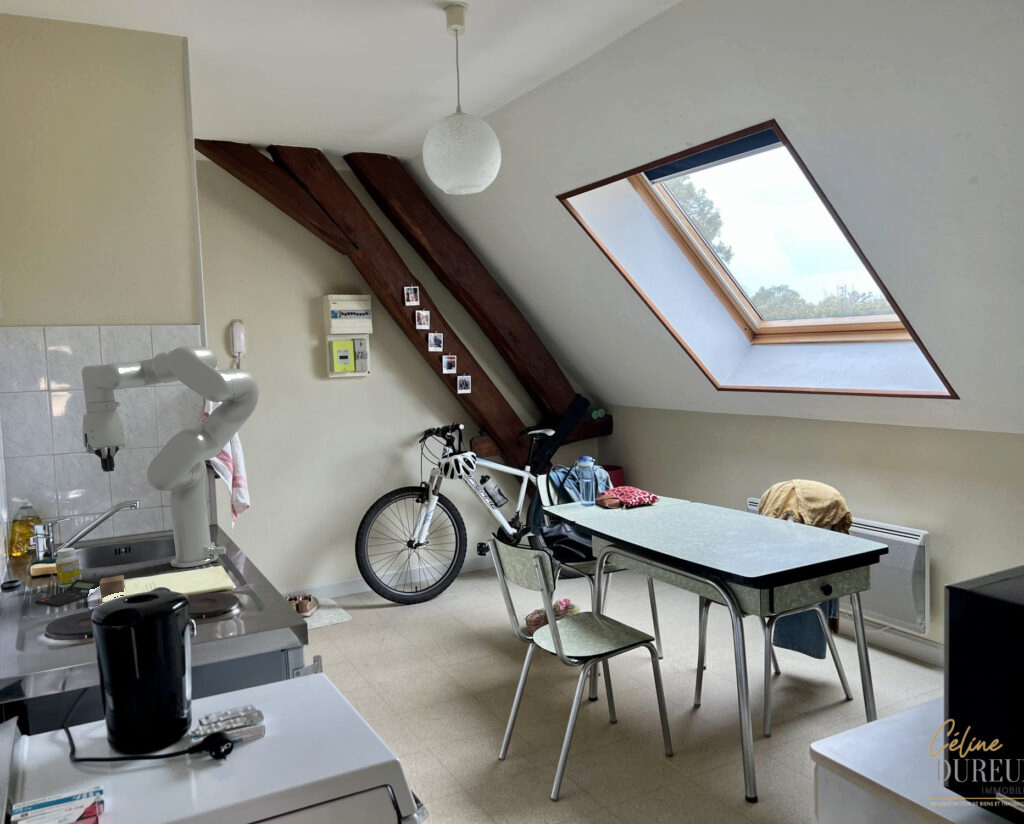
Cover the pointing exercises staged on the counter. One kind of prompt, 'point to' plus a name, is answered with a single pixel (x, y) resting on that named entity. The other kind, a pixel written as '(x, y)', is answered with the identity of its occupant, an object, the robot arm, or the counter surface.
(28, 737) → the counter surface
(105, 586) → the walnut block
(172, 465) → the robot arm
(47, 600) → the calculator
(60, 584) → the supplement bottle
